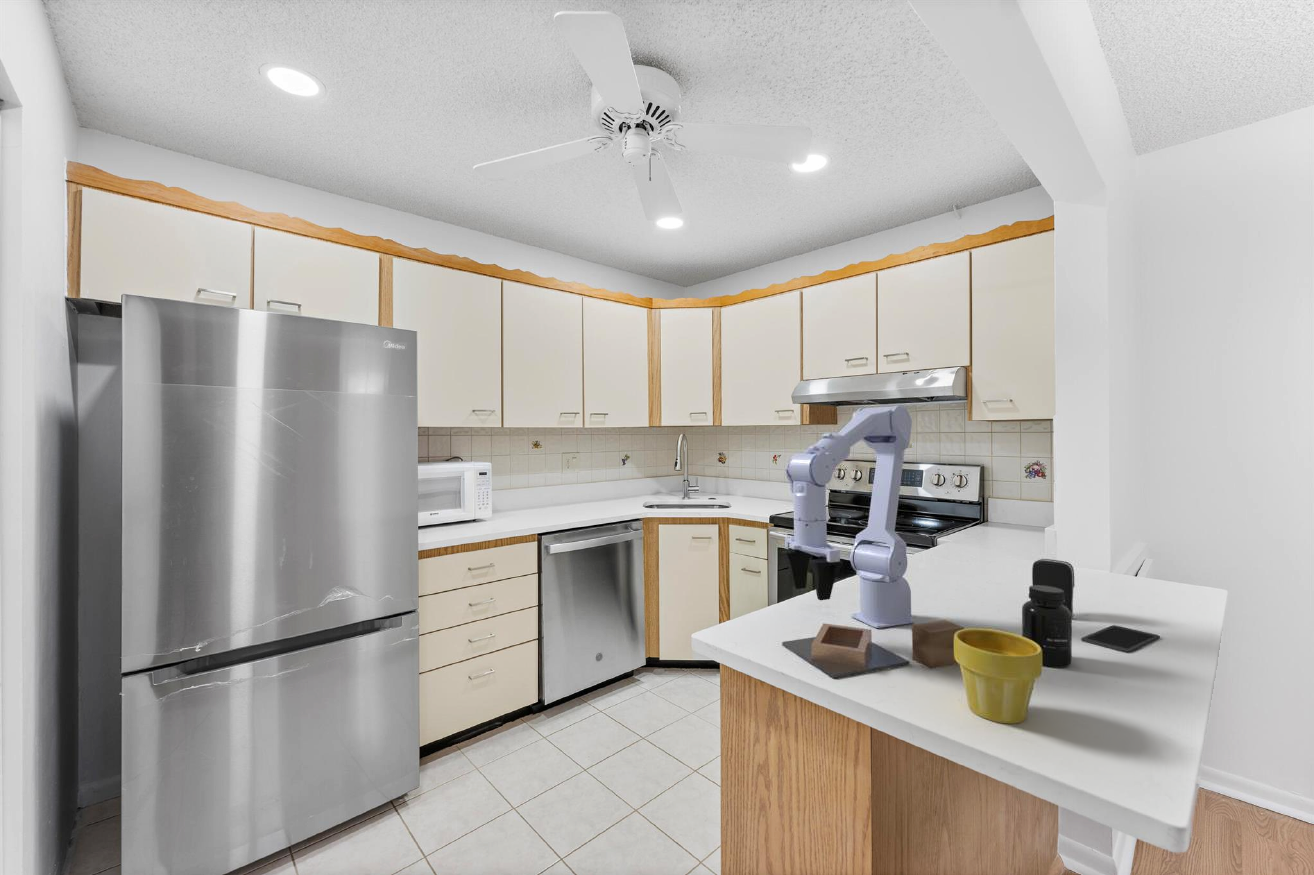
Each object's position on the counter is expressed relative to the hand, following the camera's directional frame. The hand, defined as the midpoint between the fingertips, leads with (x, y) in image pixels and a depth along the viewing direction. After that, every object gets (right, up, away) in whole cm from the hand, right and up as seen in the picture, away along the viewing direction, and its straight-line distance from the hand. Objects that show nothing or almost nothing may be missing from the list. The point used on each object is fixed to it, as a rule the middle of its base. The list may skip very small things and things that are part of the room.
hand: (811, 593), depth 100 cm
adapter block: (+19, -9, -8) cm, 23 cm away
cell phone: (+57, -9, 0) cm, 58 cm away
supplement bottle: (+37, -9, -8) cm, 39 cm away
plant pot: (+18, -9, -25) cm, 32 cm away
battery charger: (+55, -9, +14) cm, 57 cm away
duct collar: (+4, -9, -5) cm, 11 cm away
